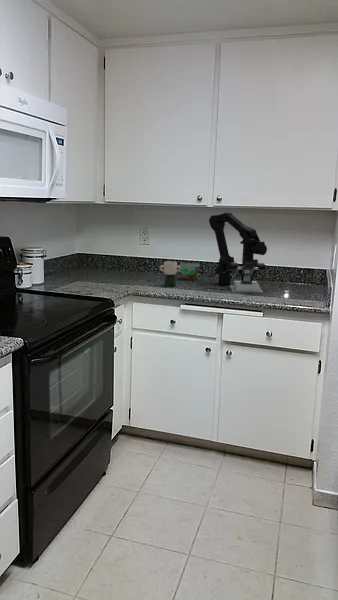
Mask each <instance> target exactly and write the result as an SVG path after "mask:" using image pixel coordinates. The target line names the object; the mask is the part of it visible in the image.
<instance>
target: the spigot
mask: <svg viewBox="0 0 338 600" xmlns="http://www.w3.org/2000/svg"><path fill="white" fill-rule="evenodd" d="M251 272H252V270H248V269H244V270H242V276H243V282H242V284H251Z"/></svg>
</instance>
